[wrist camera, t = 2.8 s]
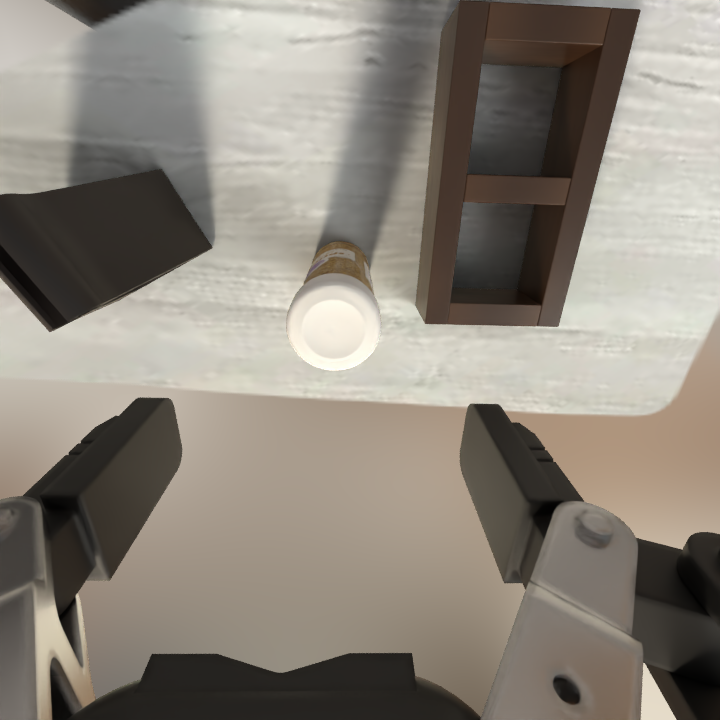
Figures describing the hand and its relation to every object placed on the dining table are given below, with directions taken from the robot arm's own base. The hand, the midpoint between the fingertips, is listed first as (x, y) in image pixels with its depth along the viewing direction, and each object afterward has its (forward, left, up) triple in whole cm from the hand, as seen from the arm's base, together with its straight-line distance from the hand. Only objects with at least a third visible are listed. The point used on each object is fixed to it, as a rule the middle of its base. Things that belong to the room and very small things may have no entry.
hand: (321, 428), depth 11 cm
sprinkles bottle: (0, 0, -22) cm, 22 cm away
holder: (+11, +6, -22) cm, 25 cm away
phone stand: (-15, +2, -22) cm, 26 cm away
